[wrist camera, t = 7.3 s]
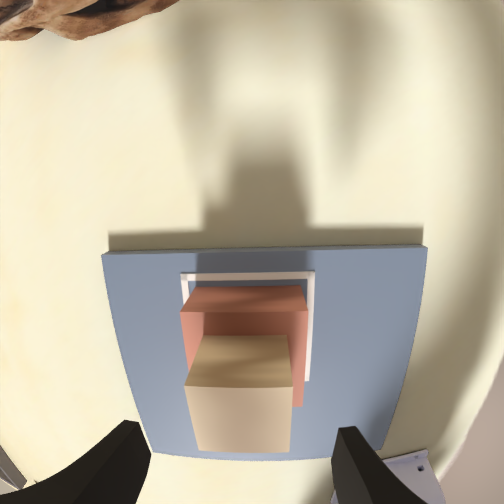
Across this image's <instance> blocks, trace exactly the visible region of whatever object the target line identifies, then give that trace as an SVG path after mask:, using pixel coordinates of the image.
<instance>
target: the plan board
mask: <svg viewBox="0 0 504 504" xmlns="http://www.w3.org/2000/svg"><path fill="white" fill-rule="evenodd" d="M427 251H428V248H427V247H425V246H423V245H421V244H407V245H353V246H304V247H258V248H216V249H176V250H138V251H108V252H106V253H104V254H102V255H101V257H102V264H103V271H104V277H105V283H106V288H107V294H108V299H109V304H110V309H111V314H112V319H113V323H114V328H115V332H116V336H117V340H118V345H119V348H120V352H121V356H122V360H123V364H124V367H125V371H126V374H127V378H128V381H129V384H130V388H131V391H132V394H133V397H134V400H135V403H136V406H137V409H138V412H139V415H140V418H141V421H142V424H143V427H144V429H145V432H146V435H147V437H148V440H149V442H150V445H151V448H152V450H153V452H156V453H162V454H169V455H176V456H185V457H194V458H204V459H217V460H237V461H283V460H303V459H316V458H326V457H332V454H333V450H334V446H335V442H336V437H337V433H338V428H341V427H349V426H356V427H357V428H358V429H359V431H360V432H361V434H362V435H363V436H364V438H365V439H366V441H367V442H368V443H369V445H370V446H371V447H372V449H373V450H374V451H375V450H381V448H382V445H383V443H384V440H385V437H386V435H387V432H388V429H389V426H390V423H391V420H392V418H393V415H394V411H395V408H396V405H397V402H398V399H399V395H400V392H401V389H402V385H403V382H404V378H405V374H406V371H407V367H408V363H409V359H410V354H411V350H412V346H413V341H414V337H415V332H416V327H417V322H418V316H419V311H420V305H421V299H422V292H423V285H424V278H425V270H426V261H427ZM285 285H301V289H302V292H303V295H304V298H305V301H306V305H307V308H308V332H307V350H306V366H305V381H304V394H303V406H302V407H292V417H291V433H290V448H289V452H283V453H233V452H213V451H200V450H199V449H198V445H197V441H196V437H195V433H194V429H193V425H192V421H191V416H190V412H189V407H188V403H187V398H186V394H185V389H184V384H185V381H186V379H187V376H188V374H189V370H188V364H187V358H186V352H185V345H184V339H183V332H182V325H181V318H180V311H181V309H182V307H183V306H184V304H185V303H186V301H187V299H188V298H189V296H190V295H191V293H192V291H193V290H194V288H195V287H232V286H285Z"/></svg>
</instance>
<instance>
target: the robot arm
mask: <svg viewBox="0 0 504 504" xmlns="http://www.w3.org/2000/svg"><path fill="white" fill-rule="evenodd" d="M428 453H429V452H428V450H427V449H425V450H422V451H418V452H414V453H410V454H406V455H402V456H398V457H394V458H389V459H384V460H381V459H380V457H379V456H378V455H377V454H376V452H375V451H374V450H373V449H372V447H371V446H370V445H369V443H368V442H367V441H366V439H365V438H364V436H363V435H362V434H361V432H360V431H359V429H358V428H357V427H356V426H349V427H341V428H338V433H337V437H336V442H335V446H334V450H333V454H332V458H331V465H332V474H333V483H334V487H335V490H334V492H333V495H332V498H331V504H446V503H445V497H444V494H443V491H442V489H441V487H440V485H439V482H438V480H437V478H436V476H435V474H434V471H433V469H432V467H431V465H430V463H429V461H428V459H427V455H428ZM150 459H151V452H150V450H149V448H148V445H147V443H146V440H145V438H144V435H143V432H142V430H141V427H140V424H139V422H134V421H129V420H124V421H123V422H121V423H120V424H119V425H118V426H117V427H116V428H114V429H113V430H112V431H111V432H110V433H109V434H108V435H107V436H106V437H104V438H103V439H102V440H101V441H100V442H99V443H97V444H96V445H95V446H94V447H93V448H91V449H90V450H89V451H88V452H87V453H85V454H84V455H83V456H82V457H80V458H79V459H77V460H76V461H75V462H73V463H72V464H71V465H69V466H68V467H66V468H65V469H63V470H61V471H60V472H58V473H56V474H55V475H53V476H51V477H49V478H47V479H45V480H43V481H41V482H39V483H36V484H34V485H32V486H29V487H27V488H24V489H21V490H18V491H14V492H11V493H7V494H2V495H0V504H136V501H137V499H138V496H139V494H140V491H141V489H142V486H143V484H144V481H145V478H146V476H147V472H148V468H149V463H150Z"/></svg>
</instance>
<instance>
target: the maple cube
mask: <svg viewBox="0 0 504 504" xmlns="http://www.w3.org/2000/svg"><path fill="white" fill-rule="evenodd" d="M184 389H185V394H186V398H187V403H188V407H189V412H190V416H191V421H192V425H193V429H194V433H195V437H196V441H197V445H198V449H199V450H200V451H213V452H233V453H283V452H289V448H290V433H291V417H292V397H293V383H292V374H291V366H290V357H289V349H288V341H287V335H258V336H209V335H203V337H202V339H201V342H200V345H199V347H198V350H197V353H196V355H195V358H194V360H193V363H192V366H191V368H190V371H189V374H188V376H187V379H186V381H185V384H184Z"/></svg>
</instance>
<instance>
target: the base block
mask: <svg viewBox="0 0 504 504" xmlns="http://www.w3.org/2000/svg"><path fill="white" fill-rule="evenodd" d="M180 318H181V325H182V332H183V339H184V345H185V352H186V358H187V364H188V370H189V371H190V368H191V366H192V363H193V360H194V358H195V355H196V353H197V350H198V347H199V345H200V342H201V339H202V337H203V335H209V336H258V335H287V341H288V349H289V357H290V366H291V374H292V383H293V397H292V407H302V406H303V394H304V381H305V366H306V350H307V332H308V308H307V305H306V301H305V298H304V295H303V292H302V289H301V285H285V286H232V287H195V288H194V290H193V291H192V293H191V295H190V296H189V298H188V299H187V301H186V303H185V304H184V306H183V307H182V309H181V311H180Z"/></svg>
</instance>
